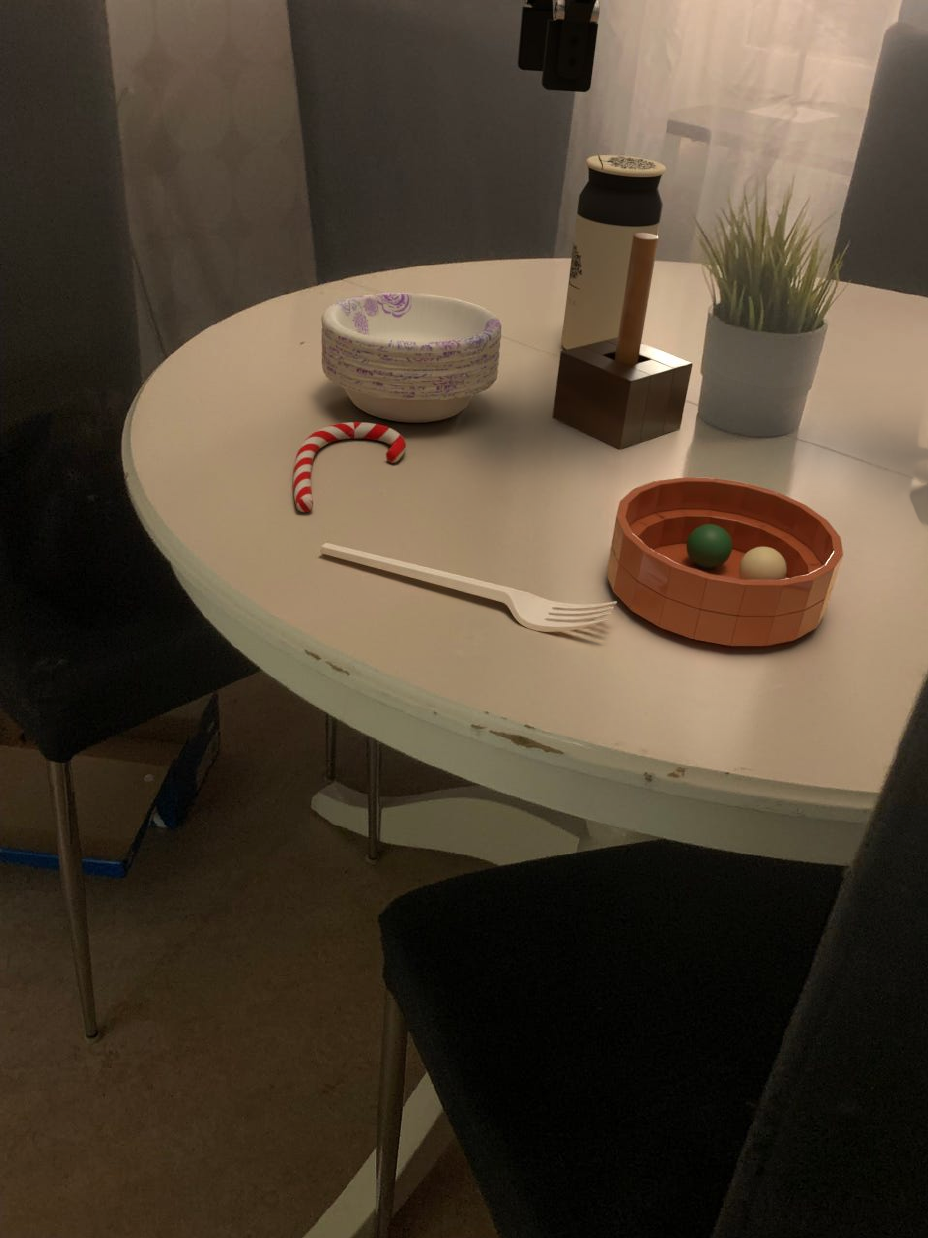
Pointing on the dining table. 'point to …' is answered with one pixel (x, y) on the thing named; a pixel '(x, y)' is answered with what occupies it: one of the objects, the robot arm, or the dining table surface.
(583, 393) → the holder
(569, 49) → the robot arm
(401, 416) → the paper bowls
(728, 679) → the dining table surface
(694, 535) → the green bead
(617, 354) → the stick
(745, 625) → the bowl
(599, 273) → the travel mug
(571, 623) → the fork
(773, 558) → the cream bead
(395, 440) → the candy cane
